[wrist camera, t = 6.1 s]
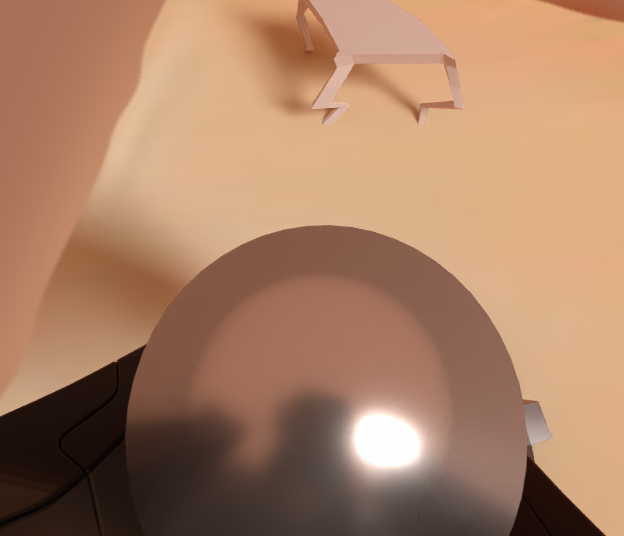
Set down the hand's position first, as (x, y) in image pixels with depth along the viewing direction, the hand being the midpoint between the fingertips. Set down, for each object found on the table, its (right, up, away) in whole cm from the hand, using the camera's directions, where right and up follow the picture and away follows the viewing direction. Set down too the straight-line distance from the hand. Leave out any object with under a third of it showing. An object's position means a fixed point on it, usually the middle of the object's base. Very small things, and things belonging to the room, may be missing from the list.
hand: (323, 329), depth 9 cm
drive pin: (0, -3, +5) cm, 6 cm away
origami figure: (+4, +14, +17) cm, 22 cm away
